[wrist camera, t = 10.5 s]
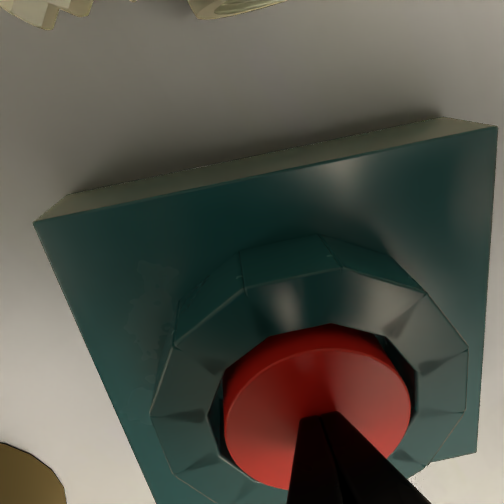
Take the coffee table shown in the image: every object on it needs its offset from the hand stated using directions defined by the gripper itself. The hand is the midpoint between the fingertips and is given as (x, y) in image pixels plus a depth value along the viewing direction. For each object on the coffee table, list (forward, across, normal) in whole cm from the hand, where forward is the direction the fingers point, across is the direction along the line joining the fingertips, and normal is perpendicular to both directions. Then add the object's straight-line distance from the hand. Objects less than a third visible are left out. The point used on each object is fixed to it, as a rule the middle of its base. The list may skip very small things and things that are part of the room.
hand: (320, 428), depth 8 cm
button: (+2, 0, 0) cm, 2 cm away
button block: (+4, 0, 0) cm, 4 cm away
